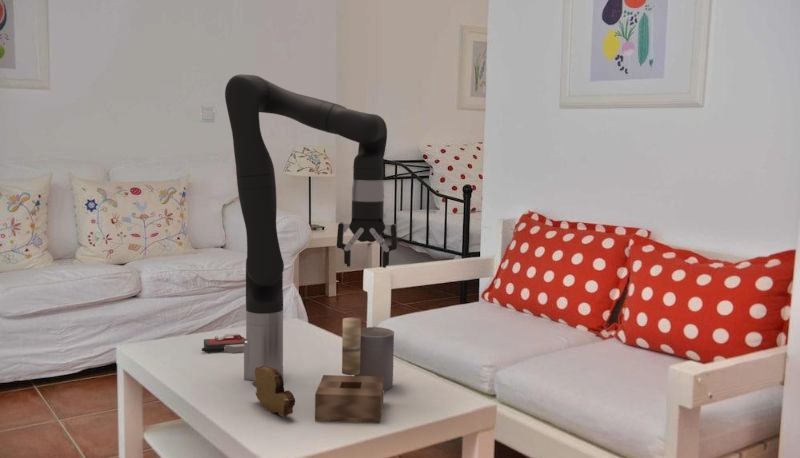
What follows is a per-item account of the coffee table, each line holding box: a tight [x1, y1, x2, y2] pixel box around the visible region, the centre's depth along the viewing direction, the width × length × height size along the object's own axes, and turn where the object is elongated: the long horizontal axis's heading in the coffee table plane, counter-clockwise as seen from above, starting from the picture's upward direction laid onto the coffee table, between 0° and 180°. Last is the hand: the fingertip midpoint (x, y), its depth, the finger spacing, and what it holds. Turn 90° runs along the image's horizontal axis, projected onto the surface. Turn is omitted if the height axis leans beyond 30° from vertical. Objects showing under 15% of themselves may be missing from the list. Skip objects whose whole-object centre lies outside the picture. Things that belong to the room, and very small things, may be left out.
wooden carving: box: [251, 366, 296, 417], centre depth 179 cm, size 16×5×10 cm, turn 40°
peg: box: [341, 317, 362, 376], centre depth 179 cm, size 4×4×12 cm
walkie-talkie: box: [201, 333, 246, 354], centre depth 231 cm, size 9×4×20 cm
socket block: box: [314, 374, 385, 424], centre depth 180 cm, size 14×14×6 cm
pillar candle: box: [353, 326, 395, 392], centre depth 198 cm, size 10×10×15 cm
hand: (366, 266), depth 193 cm, fingers open, 8 cm apart
